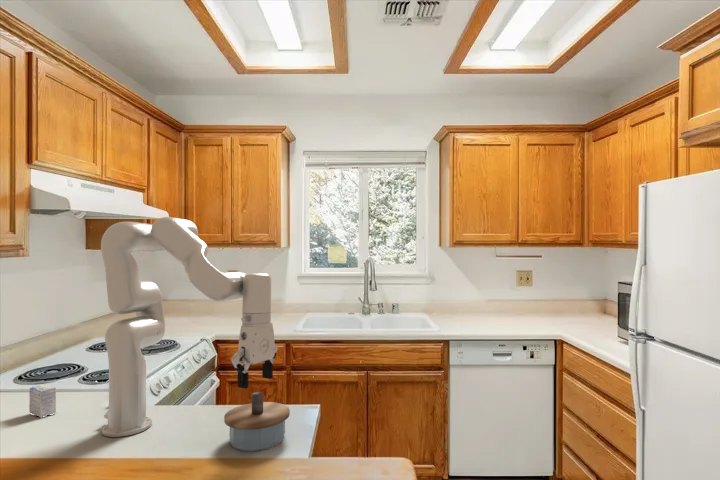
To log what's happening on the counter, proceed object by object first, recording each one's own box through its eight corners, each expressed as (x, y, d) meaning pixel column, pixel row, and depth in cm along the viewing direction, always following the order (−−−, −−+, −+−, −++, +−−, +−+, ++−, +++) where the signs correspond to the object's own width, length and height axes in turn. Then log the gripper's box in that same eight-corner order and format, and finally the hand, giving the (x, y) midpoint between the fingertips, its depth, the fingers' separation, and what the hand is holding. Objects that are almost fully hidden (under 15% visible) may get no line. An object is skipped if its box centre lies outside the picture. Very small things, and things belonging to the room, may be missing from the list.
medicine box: (56, 414, 133) (56, 386, 134) (40, 419, 129) (40, 390, 130) (44, 410, 137) (45, 383, 138) (28, 414, 133) (29, 387, 134)
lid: (209, 422, 107) (209, 399, 108) (254, 402, 123) (254, 381, 123) (261, 434, 100) (261, 408, 100) (302, 410, 115) (301, 388, 115)
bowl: (219, 445, 108) (218, 421, 108) (255, 425, 120) (255, 404, 121) (261, 455, 101) (260, 430, 102) (295, 433, 114) (294, 411, 114)
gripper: (244, 324, 103) (243, 394, 102) (287, 315, 119) (286, 376, 118) (222, 322, 107) (221, 389, 106) (266, 314, 122) (265, 373, 121)
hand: (255, 382), depth 112 cm, fingers open, 9 cm apart
